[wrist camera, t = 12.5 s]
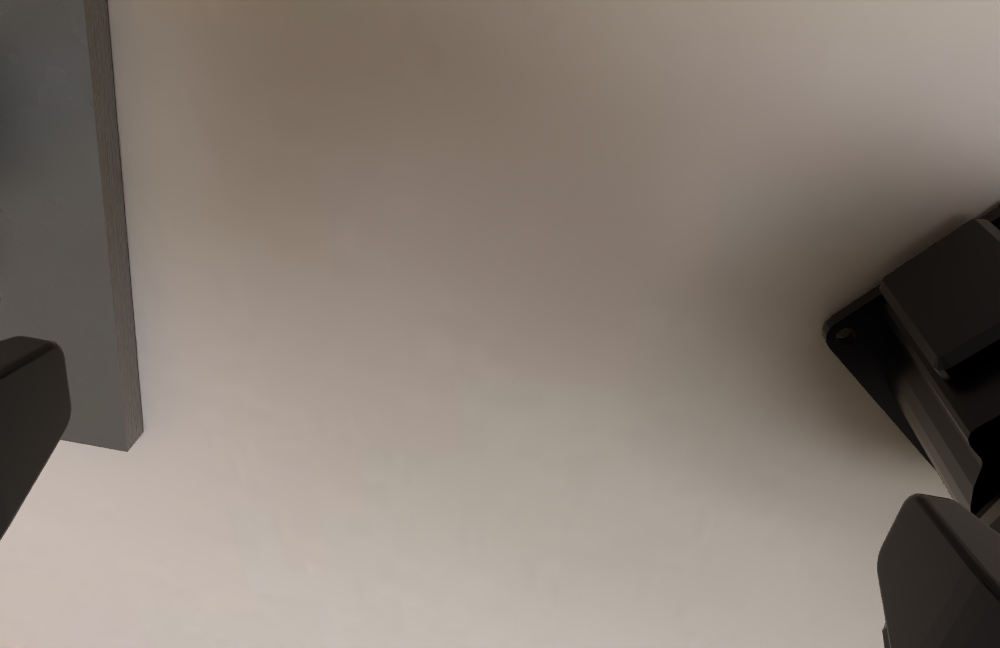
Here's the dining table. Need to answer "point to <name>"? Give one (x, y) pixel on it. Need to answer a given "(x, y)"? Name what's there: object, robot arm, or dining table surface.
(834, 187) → the dining table surface
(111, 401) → the grey square stand
